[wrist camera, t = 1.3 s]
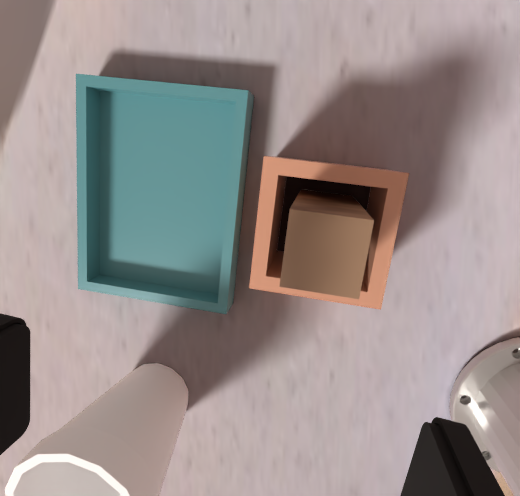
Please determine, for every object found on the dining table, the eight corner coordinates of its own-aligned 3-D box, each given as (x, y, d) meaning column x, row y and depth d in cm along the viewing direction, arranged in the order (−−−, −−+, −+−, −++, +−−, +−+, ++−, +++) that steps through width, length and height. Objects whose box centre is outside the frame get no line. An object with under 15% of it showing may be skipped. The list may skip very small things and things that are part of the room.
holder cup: (387, 169, 28) (409, 173, 22) (367, 275, 30) (380, 309, 24) (276, 156, 29) (263, 156, 23) (264, 260, 31) (249, 288, 25)
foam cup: (135, 330, 35) (33, 426, 22) (221, 381, 35) (166, 506, 22) (98, 402, 38) (-12, 525, 25) (177, 450, 37) (106, 597, 25)
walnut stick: (352, 195, 29) (374, 220, 18) (343, 245, 30) (359, 299, 19) (301, 189, 30) (289, 209, 18) (294, 237, 31) (279, 286, 19)
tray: (254, 96, 28) (248, 90, 26) (233, 302, 33) (226, 314, 30) (95, 80, 30) (75, 73, 28) (95, 279, 34) (78, 288, 32)
